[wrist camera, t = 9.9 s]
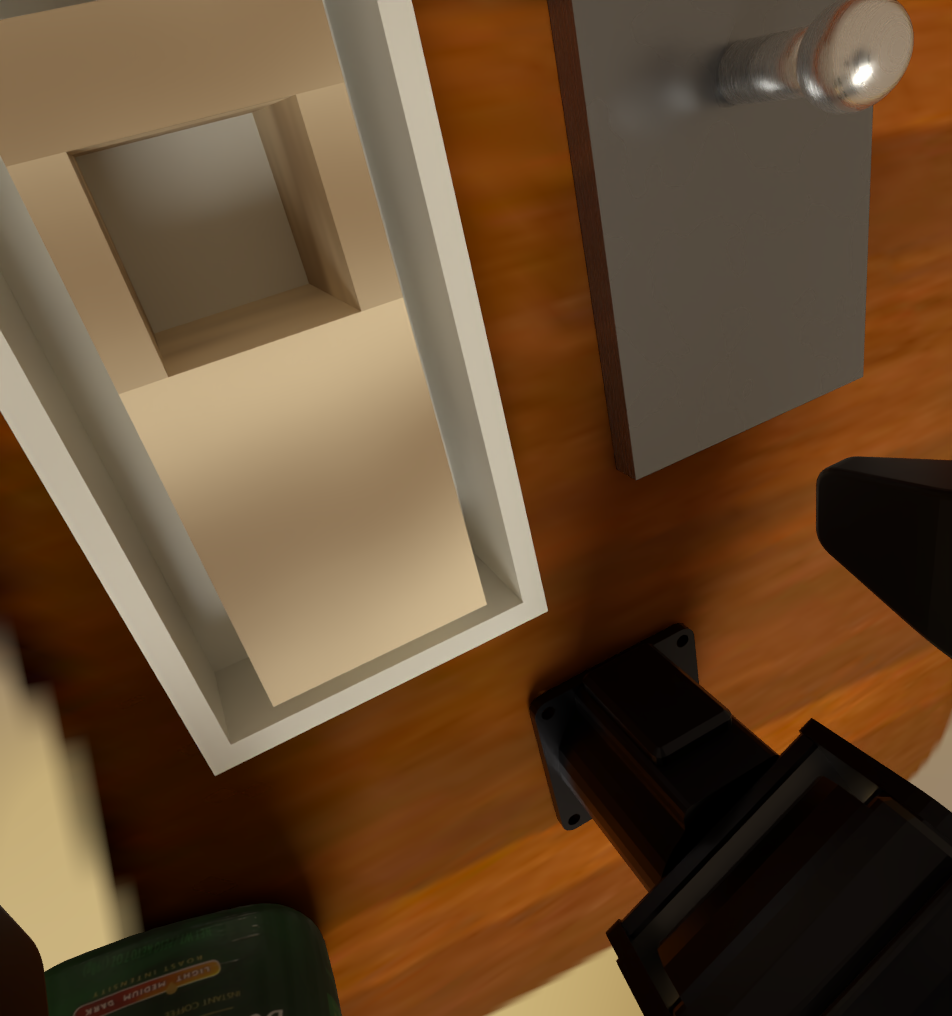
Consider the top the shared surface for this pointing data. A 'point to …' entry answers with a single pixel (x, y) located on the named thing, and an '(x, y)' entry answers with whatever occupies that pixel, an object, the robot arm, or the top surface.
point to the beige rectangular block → (254, 330)
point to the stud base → (723, 203)
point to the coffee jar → (204, 969)
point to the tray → (225, 285)
